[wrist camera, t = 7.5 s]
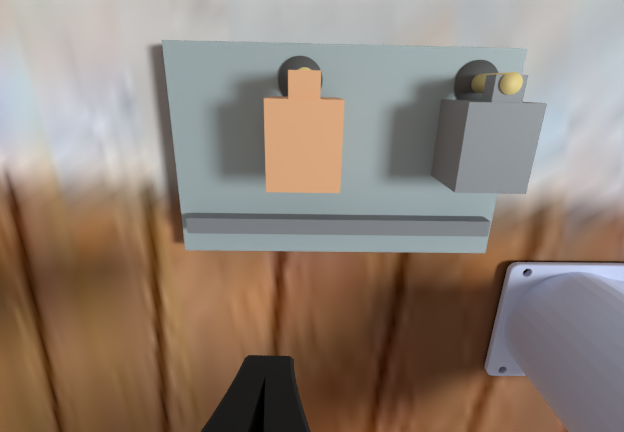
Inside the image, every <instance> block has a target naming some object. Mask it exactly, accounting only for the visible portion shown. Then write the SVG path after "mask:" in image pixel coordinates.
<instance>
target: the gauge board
mask: <svg viewBox="0 0 624 432" xmlns="http://www.w3.org/2000/svg"><path fill="white" fill-rule="evenodd" d="M162 47H163V56H164V65H165V74H166V83H167V92H168V101H169V110H170V118H171V127H172V136H173V145H174V154H175V163H176V172H177V181H178V189H179V198H180V207H181V216H182V225H183V234H184V243H185V250H230V251H330V252H429V253H485V252H486V247H487V242H488V237H489V232H490V227H491V222H492V217H493V213H494V208H495V203H496V198H497V193H509V194H526V191H527V186H528V182H529V178H530V174H531V169H532V165H533V161H534V156H535V152H536V148H537V144H538V139H539V135H540V131H541V126H542V122H543V118H544V114H545V109H546V105H547V104H545V103H532V102H523V97H524V92H525V87H526V83H527V78H528V75H522V71H523V66H524V61H525V56H526V51H527V48H484V47H441V46H397V45H354V44H310V43H267V42H224V41H180V40H162ZM302 67H307V68H309V69H311V70H321V93H320V97H338V98H341V99H343V100H345V104H344V125H343V145H342V166H341V187H340V193H288V192H266V172H265V133H264V98H266V97H270V96H288V70H298V69H300V68H302Z"/></svg>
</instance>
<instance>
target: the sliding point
mask: <svg viewBox="0 0 624 432" xmlns="http://www.w3.org/2000/svg"><path fill="white" fill-rule="evenodd" d="M320 93H321V70H311V69H309V68H307V67H302V68H300V69H298V70H288V96H270V97H266V98H264V133H265V172H266V192H288V193H340V187H341V166H342V145H343V125H344V104H345V100H343V99H341V98H338V97H320Z"/></svg>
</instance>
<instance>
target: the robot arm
mask: <svg viewBox="0 0 624 432" xmlns="http://www.w3.org/2000/svg"><path fill="white" fill-rule="evenodd" d="M525 269H528V270H527V272H525V273H523V271H524V270H525ZM501 367H502V368H501ZM499 368H500V369H499ZM485 370H486V371H487V373H488V374H489V375H492V376H527V377H528V379H529V380H530V381H531V383H532V384H533V385H534V387H535V388H536V389H537V391H538V392H539V393H540V394H541V396H542V397H543V398H544V400H545V401H546V402H547V404H548V405H549V406H550V408H551V409H552V410H553V412H554V413H555V414H556V416H557V417H558V418H559V419H560V421H561V422H562V423H563V425H564V426H565V427H566V429H567V430H568V431H569V432H624V263H574V262H514V263H512V264H510V265H509V266H508V268H507V271H506V275H505V280H504V284H503V288H502V293H501V297H500V301H499V306H498V310H497V314H496V319H495V323H494V327H493V332H492V336H491V340H490V345H489V349H488V353H487V357H486V362H485ZM201 432H310V429H309V426H308V423H307V420H306V417H305V414H304V410H303V407H302V404H301V400H300V397H299V393H298V388H297V384H296V379H295V373H294V359H293V358H292V357H290V356H258V355H248V356H247V357H246V358H245V359H244V361H243V363H242V365H241V367H240V369H239V371H238V373H237V375H236V377H235V379H234V381H233V382H232V384H231V386H230V388H229V389H228V391H227V393H226V394H225V396H224V397H223V399H222V401H221V402H220V404H219V405H218V407H217V408H216V410H215V412H214V413H213V415H212V416H211V418H210V419H209V421H208V422H207V423H206V425H205V426H204V428H203V429H202V430H201Z"/></svg>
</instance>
